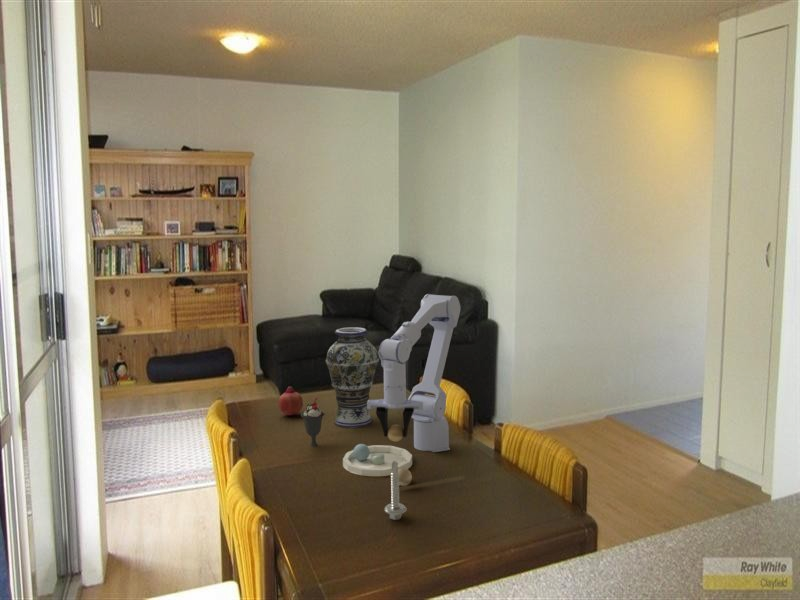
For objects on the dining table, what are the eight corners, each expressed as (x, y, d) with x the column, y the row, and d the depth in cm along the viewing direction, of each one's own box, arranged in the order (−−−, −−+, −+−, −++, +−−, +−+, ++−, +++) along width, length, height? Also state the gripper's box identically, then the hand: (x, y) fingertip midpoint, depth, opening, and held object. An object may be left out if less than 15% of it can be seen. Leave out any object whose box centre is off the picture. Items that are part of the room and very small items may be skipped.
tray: (396, 449, 188) (396, 440, 187) (423, 472, 171) (423, 462, 171) (334, 459, 181) (334, 449, 181) (355, 483, 164) (355, 473, 164)
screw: (410, 519, 144) (389, 524, 143) (401, 510, 149) (381, 515, 147) (409, 462, 143) (388, 466, 141) (400, 455, 147) (379, 458, 145)
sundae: (321, 452, 186) (320, 400, 184) (298, 451, 187) (297, 399, 185) (328, 444, 192) (327, 394, 190) (306, 443, 194) (305, 393, 192)
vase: (390, 418, 216) (389, 327, 212) (359, 433, 201) (357, 336, 197) (349, 411, 225) (347, 323, 221) (316, 425, 210) (313, 331, 206)
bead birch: (407, 481, 165) (407, 464, 165) (414, 487, 161) (414, 470, 161) (391, 484, 164) (391, 466, 163) (398, 490, 160) (397, 473, 159)
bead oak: (391, 437, 177) (390, 421, 176) (406, 439, 175) (406, 423, 175) (384, 442, 173) (384, 426, 172) (400, 444, 171) (399, 428, 171)
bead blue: (366, 456, 180) (366, 440, 180) (372, 461, 176) (371, 445, 176) (351, 458, 179) (350, 442, 178) (356, 464, 175) (356, 448, 174)
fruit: (274, 418, 218) (273, 388, 216) (285, 411, 225) (284, 382, 224) (296, 420, 215) (295, 390, 214) (307, 413, 223) (306, 384, 222)
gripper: (364, 388, 169) (365, 439, 171) (421, 389, 167) (421, 441, 169) (369, 381, 176) (370, 430, 178) (423, 382, 174) (424, 432, 176)
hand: (395, 435), depth 174 cm, fingers closed on bead oak, 4 cm apart
